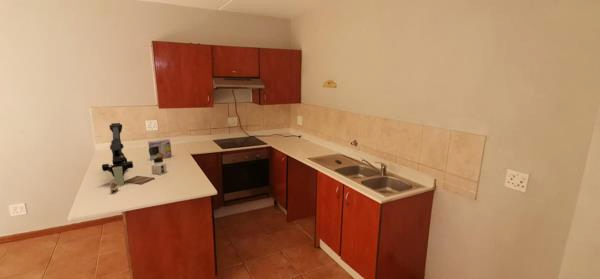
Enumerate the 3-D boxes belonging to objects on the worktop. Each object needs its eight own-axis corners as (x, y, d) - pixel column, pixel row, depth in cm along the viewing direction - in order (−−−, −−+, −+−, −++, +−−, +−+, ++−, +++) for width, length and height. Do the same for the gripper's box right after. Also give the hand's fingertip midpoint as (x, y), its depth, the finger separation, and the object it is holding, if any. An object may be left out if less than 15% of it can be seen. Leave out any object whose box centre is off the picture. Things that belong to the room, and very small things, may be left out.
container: (167, 171, 238) (165, 156, 236) (160, 174, 231) (158, 158, 228) (159, 171, 240) (157, 155, 238) (152, 173, 233) (150, 158, 230)
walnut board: (123, 182, 214) (123, 181, 214) (137, 176, 226) (137, 175, 226) (141, 184, 210) (141, 183, 210) (154, 178, 222) (154, 177, 222)
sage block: (115, 184, 211) (113, 166, 208) (124, 183, 213) (122, 165, 210) (115, 186, 206) (113, 168, 204) (123, 185, 209) (121, 167, 206)
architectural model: (120, 190, 200) (119, 180, 199) (115, 194, 194) (114, 183, 192) (115, 190, 200) (113, 180, 198) (109, 194, 193) (108, 184, 192)
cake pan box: (150, 160, 268) (148, 142, 265) (148, 159, 272) (147, 141, 269) (172, 157, 280) (170, 139, 277) (170, 156, 284) (169, 138, 280)
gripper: (100, 153, 204) (100, 173, 196) (131, 150, 212) (132, 169, 205) (102, 161, 212) (103, 180, 205) (132, 158, 221) (134, 176, 214)
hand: (118, 176), depth 207 cm, fingers closed on sage block, 5 cm apart
